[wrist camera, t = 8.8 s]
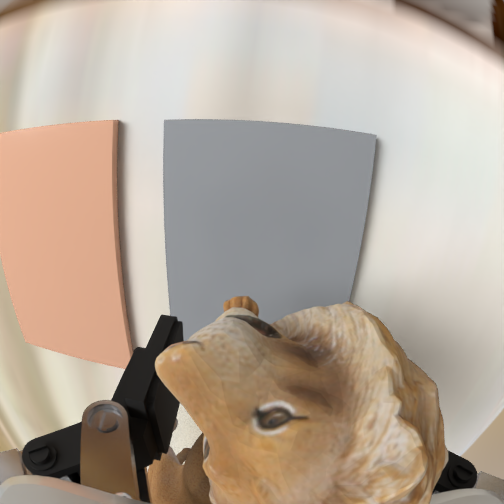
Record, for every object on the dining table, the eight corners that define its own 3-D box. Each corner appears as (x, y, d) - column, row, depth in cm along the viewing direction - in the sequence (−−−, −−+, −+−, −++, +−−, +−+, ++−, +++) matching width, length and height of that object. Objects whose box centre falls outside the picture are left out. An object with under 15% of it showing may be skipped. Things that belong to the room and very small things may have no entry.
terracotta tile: (122, 119, 14) (113, 120, 13) (137, 359, 21) (132, 370, 19) (-1, 133, 14) (-13, 135, 13) (32, 333, 20) (25, 342, 19)
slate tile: (368, 134, 14) (376, 135, 13) (323, 375, 20) (325, 387, 19) (171, 120, 14) (164, 119, 13) (181, 367, 21) (177, 379, 19)
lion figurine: (231, 174, 9) (81, 514, 1) (382, 235, 10) (557, 473, 2) (149, 434, 15) (114, 570, 6) (238, 457, 15) (230, 592, 7)
